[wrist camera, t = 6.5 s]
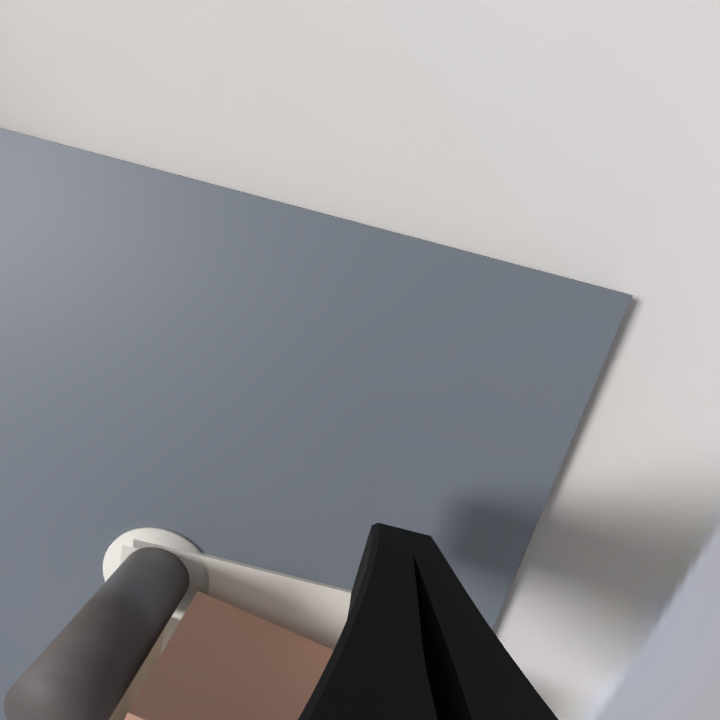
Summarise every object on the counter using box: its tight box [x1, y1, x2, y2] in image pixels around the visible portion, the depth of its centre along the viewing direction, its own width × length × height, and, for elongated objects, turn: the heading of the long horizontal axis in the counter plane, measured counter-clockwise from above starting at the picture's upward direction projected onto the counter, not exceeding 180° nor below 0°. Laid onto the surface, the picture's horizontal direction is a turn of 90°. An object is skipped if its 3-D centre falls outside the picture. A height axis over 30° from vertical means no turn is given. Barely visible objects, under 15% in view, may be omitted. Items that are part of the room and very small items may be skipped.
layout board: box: [0, 128, 632, 720], centre depth 11 cm, size 21×18×1 cm
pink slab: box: [124, 591, 333, 720], centre depth 9 cm, size 8×1×3 cm, turn 64°
